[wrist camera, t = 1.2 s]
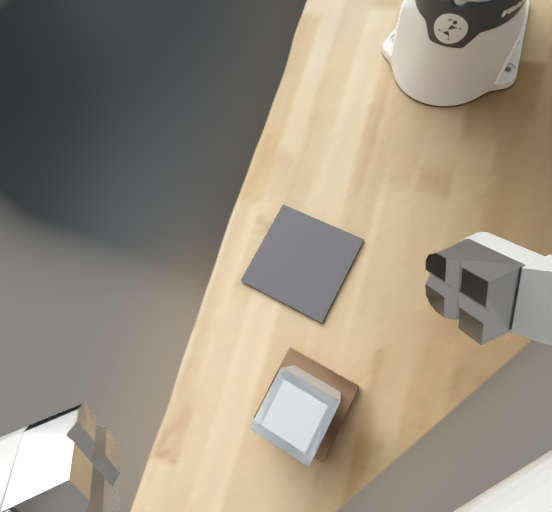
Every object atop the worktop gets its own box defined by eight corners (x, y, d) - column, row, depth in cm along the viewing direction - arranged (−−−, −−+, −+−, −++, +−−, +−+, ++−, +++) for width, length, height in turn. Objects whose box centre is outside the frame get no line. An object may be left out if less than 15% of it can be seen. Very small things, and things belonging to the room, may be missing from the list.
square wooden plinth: (291, 348, 45) (284, 346, 39) (358, 385, 42) (360, 389, 37) (256, 415, 43) (244, 423, 38) (323, 459, 41) (320, 473, 35)
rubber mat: (283, 206, 50) (283, 204, 50) (363, 240, 47) (363, 239, 46) (241, 281, 48) (240, 280, 48) (322, 323, 45) (321, 322, 44)
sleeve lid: (294, 365, 43) (280, 367, 33) (340, 392, 41) (340, 401, 31) (270, 412, 42) (249, 428, 32) (317, 441, 40) (308, 467, 30)
